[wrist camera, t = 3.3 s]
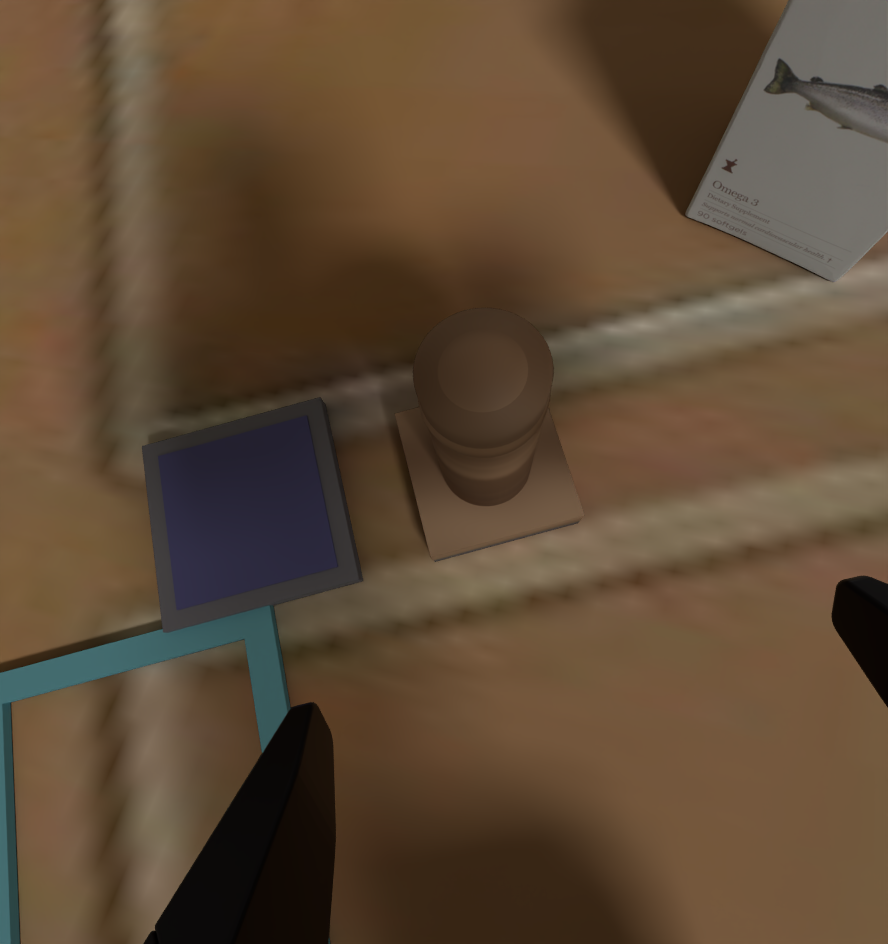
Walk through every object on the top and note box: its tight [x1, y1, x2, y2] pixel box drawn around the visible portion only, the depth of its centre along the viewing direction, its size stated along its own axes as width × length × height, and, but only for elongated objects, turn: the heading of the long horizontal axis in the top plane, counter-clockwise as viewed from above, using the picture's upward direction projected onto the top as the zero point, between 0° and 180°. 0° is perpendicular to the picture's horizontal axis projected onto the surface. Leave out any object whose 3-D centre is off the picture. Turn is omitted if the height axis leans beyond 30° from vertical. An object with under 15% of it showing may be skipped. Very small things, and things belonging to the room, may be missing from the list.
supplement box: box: [685, 0, 888, 282], centre depth 20 cm, size 7×7×13 cm
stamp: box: [395, 308, 584, 562], centre depth 19 cm, size 6×6×10 cm
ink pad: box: [142, 397, 363, 633], centre depth 24 cm, size 8×8×1 cm
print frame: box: [0, 605, 330, 944], centre depth 21 cm, size 12×12×1 cm
